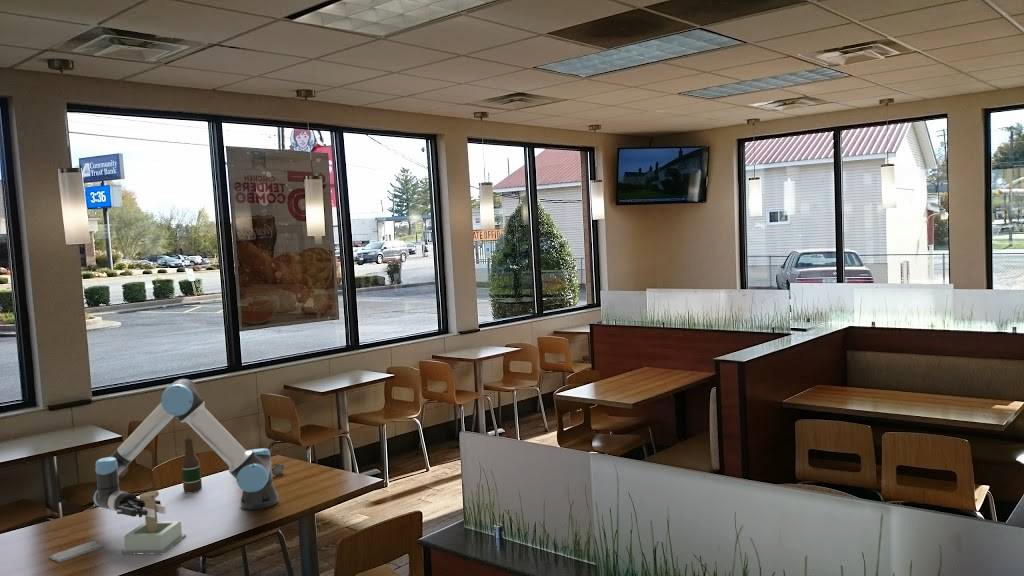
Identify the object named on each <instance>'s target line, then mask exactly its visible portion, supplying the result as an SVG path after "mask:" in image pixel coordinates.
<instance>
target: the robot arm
mask: <svg viewBox="0 0 1024 576" xmlns="http://www.w3.org/2000/svg"><path fill="white" fill-rule="evenodd" d="M205 402H206V401H205V400H204V399H203V398H202V397H201V396H200V395H199V389H198V385H197V384H196V383H195V382H194V381H192V380H191V379H188V378H179V379H176V380H174V381H173V382H171V384H170V385H169V386H167V387H166V388H165V389H164V391H163V393H162V395H161V399H160V403H159V404H158V405H157V406H156V407H155V409H153V410H152V412H150V414H149V415H148V416H147V417H145V419H144V420H143V421H142V422H141V423H140V424H139V425H138V426H137V427H136V428H135V429H134V431H133V432H131V434H130V435H129V436H128V437H127V438H126V439H125V440H124V441H123V442H122V443H121V444H120V445H119V446H118V448H117V449H116V450H115V451H114V452H113V453H112V454H111V455H110V456H108V457H102V458H100V459H98V460H96V461H95V469H94V471H95V474H96V475H95V476H96V484H97V485H96V486H97V490H96V491H95V492H94V494H93V497H92V498H93V502H94V505H96V506H98V507H99V508H102V509H107V510H111V511H115V512H116V514H118V515H125V516H128V517H129V516H130V517H137V516H138V517H139V518H143V516H148V517H152V518H154V517H155V511H154V510H153V509H149V508H146V507H145V501H144V500H141V499H140V498H138V497H137V496H136V495H135V494H134V493H130V492H126V491H122V490H120V483H119V482H120V480H119V476H120V475H121V474H122V472H123V471H125V469H127V467H128V466H129V465H130V464H131V463H132V461H133V460H134V459H135V458H136V457H137V456H138V455H139V454H140V453H141V452H142V451H143V450H145V449H144V448H146V446H148V444H150V442H152V440H153V439H154V438H155V437H156V436H157V435H158V434H159V433H160V432H161V431H162V430H163V429H164V428H165V427H166V426H167V425H168V423H170V421H172V420H173V418H174V417H175V418H176V419H177V420H178V421H179V422H180V423H186V424H188V425H189V426H190V428H192V430H193V431H194V432H195V433H197V434H198V435H199V437H200V438H201V439H202V440H203V441H204V442H205V443H206V444H207V445H208V446H210V448H211V449H212V450H213V451H214V452H215V453H216V454H217V455H218V456H219V457H220V458H221V459H222V460H223V462H224V463H226V465H227V466H228V472H229V474H231V475H232V477H233V478H235V479H236V483H237V485H238V487H239V488H240V489H241V490H242V494H241V497H240V507H241V509H243V510H250V511H252V510H260V509H265V508H269V507H272V506H275V505H276V504H278V503H279V495H278V492H277V490H276V488H275V485H274V482H273V473H272V472H273V471H272V467H271V466H272V460H271V459H272V458H271V456H272V455H271V451H270V448H265V447H264V448H254V449H248V450H247V449H246V448H244V447H243V445H242V444H240V442H238V440H237V439H236V438H235V437H234V436H233V435H232V434H231V433H230V432H229V431H228V430H227V429H226V428H225V427H224V425H222V424H221V423H220V422H219V421H218V419H217V418H215V416H214V415H213V414H212V413H211V412H210V411H209V410H208V409H206V406H205ZM155 506H156V513H158V514H163V515H165V514H166V513H167V512H166V511H167V510H166V505H162V503H161V500H158V499H155Z"/></svg>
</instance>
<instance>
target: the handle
mask: <svg viewBox="0 0 1024 576" xmlns="http://www.w3.org/2000/svg"><path fill="white" fill-rule="evenodd" d="M159 494H160V493H159V491H158V490H151V491H147V492H143V493H142V494H141V493H140V495H139V499H141V500H144V501H145V507H146V508H149V509H153V510H154V511H155V517H154V518H152V517H148V516H145V515H144V516H145V517H144V518H145V522H146V527H147V530H148V531H147V532H148V533H157V521H158V514H157V513H158V512H156V506H155V500H156V498H157V497H159Z"/></svg>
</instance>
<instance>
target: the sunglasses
mask: <svg viewBox="0 0 1024 576" xmlns="http://www.w3.org/2000/svg"><path fill="white" fill-rule="evenodd" d="M284 468H285V467H284V464H281V463H277V464H276V463H275V464H273V465H272V464H271V469H272V475H274V476H276V477H278V476H280V475H282V474H283V471H284Z"/></svg>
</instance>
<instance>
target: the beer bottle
mask: <svg viewBox="0 0 1024 576" xmlns="http://www.w3.org/2000/svg"><path fill="white" fill-rule="evenodd" d="M193 440H194V439H193V437H190V436H188V437H185V438H184V439H183V442H184V457H183V459H182V462H181V474H182V475H181V476H182V485H183V491H185V492H184V493H186V492H192V493H196V492H195V491H197V492H199V491H198V490H200V491H201V489H202V488H203V485H202V473H201V464H200V463H201V462H200V459H199V457H198V456H197V455H196V454H195V451H194V450H195V449H194V448H195V447H194V445H193Z"/></svg>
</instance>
